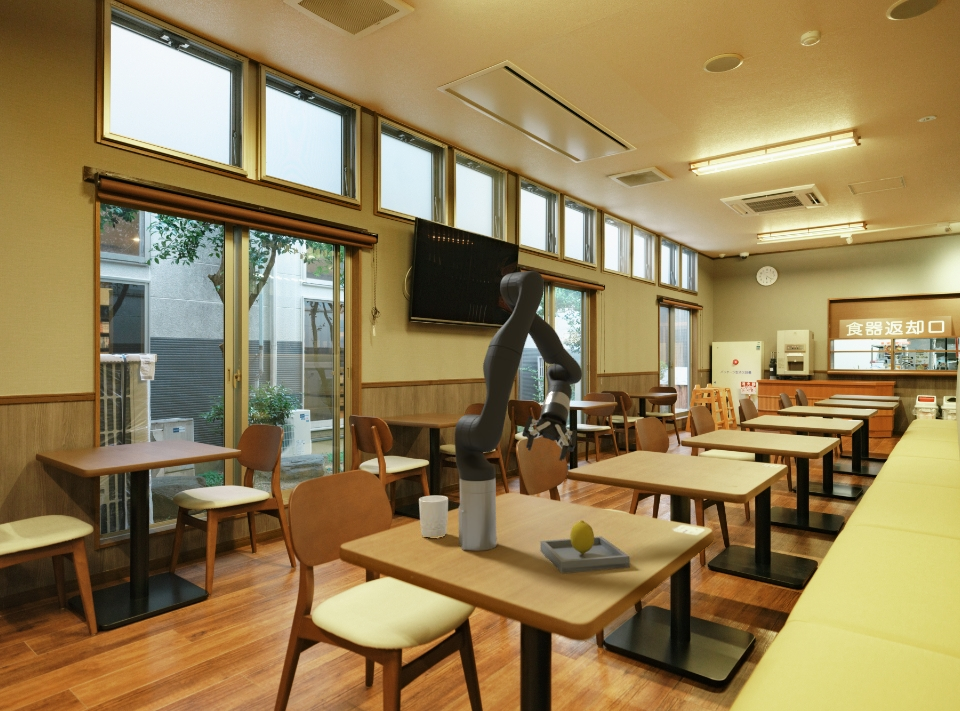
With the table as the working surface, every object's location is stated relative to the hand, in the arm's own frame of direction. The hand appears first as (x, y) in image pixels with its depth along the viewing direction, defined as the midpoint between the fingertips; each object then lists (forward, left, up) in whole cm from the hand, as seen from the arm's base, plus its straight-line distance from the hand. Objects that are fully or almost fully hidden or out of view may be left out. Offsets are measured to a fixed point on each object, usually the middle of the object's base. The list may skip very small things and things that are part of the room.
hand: (545, 453), depth 154 cm
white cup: (-28, +13, -23) cm, 38 cm away
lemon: (+4, -15, -22) cm, 27 cm away
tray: (+4, -15, -23) cm, 28 cm away
